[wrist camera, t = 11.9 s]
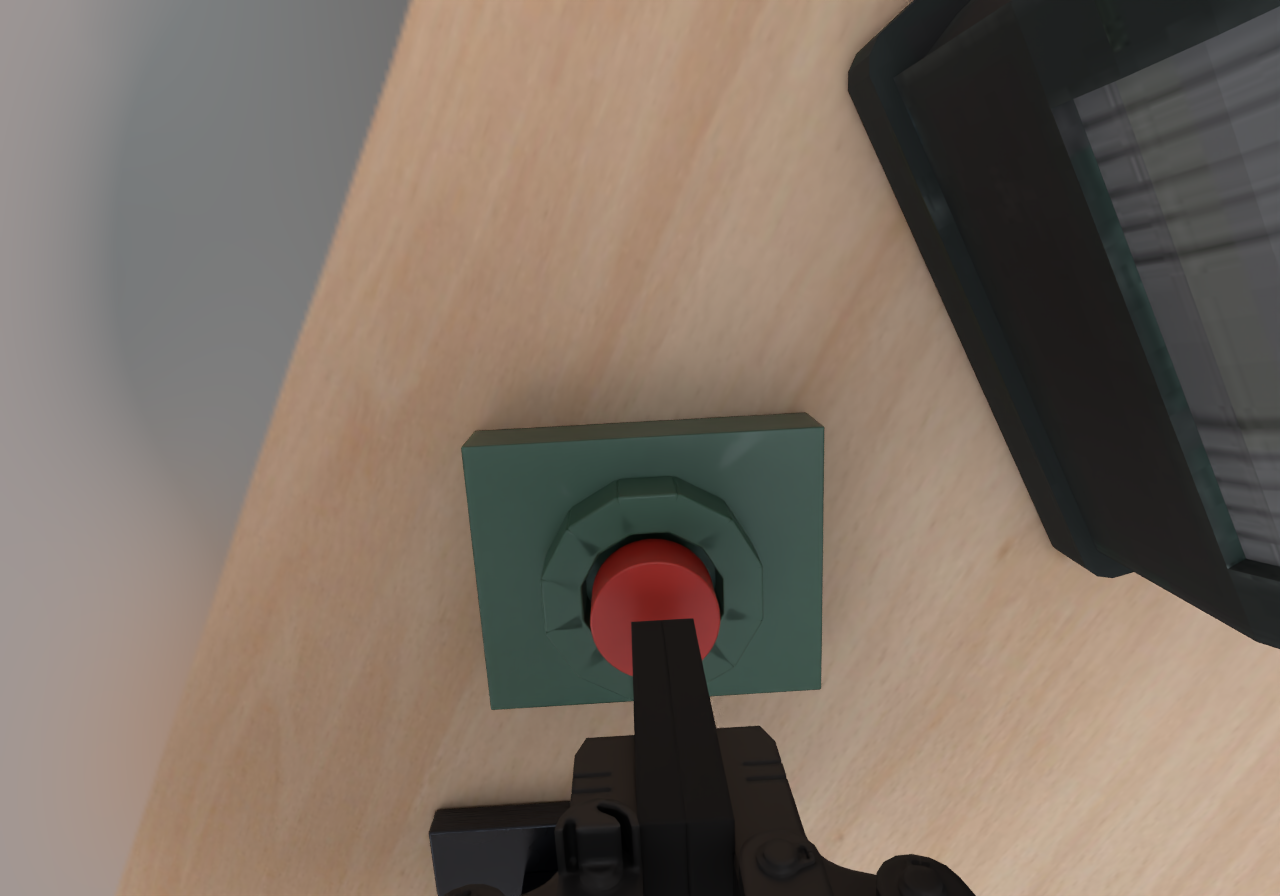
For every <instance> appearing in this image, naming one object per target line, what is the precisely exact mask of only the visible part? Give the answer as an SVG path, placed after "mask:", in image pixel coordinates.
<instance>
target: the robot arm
mask: <svg viewBox="0 0 1280 896" xmlns="http://www.w3.org/2000/svg"><path fill="white" fill-rule="evenodd" d="M631 634H632V666H633V699H634V731H635V735H629V736H613V737H596V738H586V740H585V741H584V743H583V744H582V746H581V747H580V749H579V750H578V751H577V753H576V754H575V759H574V770H573V781H572V794H571V803H570V808H569V809H568V810H567V811H566V812H565V813H564V814H563V815H562V816H561V817H560V818H559V819H558V822H557V825H556V828H555V830H554V833H555V843H556V854H557V865H558V871H557V872H556V874H555V875H554V876H553V877H552V878H551V879H550V880H549V881H547V882H546V883H545V884H543V885H542V886H540V887H539V888H537V889H534V890H532V891H530V892H528V893H525V894H522V895H520V896H975V894H974V893H973V892H972V891H971V890H970V889H969V887H968V886H967V885H966V884H965V883H964V882H963V880H962V879H961V878H960V877H959V876H958V875H956V874H955V873H954V872H953V871H952V870H951V869H949V868H948V867H947V866H946V865H944V864H942V863H940V862H938V861H935V860H933V859H931V858H929V857H924V856H919V855H914V854H909V855H898V856H895V857H893V858H891V859H889V860H887V861H885V862H883V864H882V865H881V867H880V868H879V870H878V871H877V875H874V874H869V873H864V872H859V871H854V870H851V869H847V868H844V867H841V866H838V865H836V864H834V863H832V862H830V861H828V860H827V859H825V858H824V857H823V856H821V855H820V853H819V852H818V850H817V848H816V847H815V845H814V844H812V843H811V842H810V841H809V840H808V839H807V837H806V835H805V832H804V829H803V826H802V823H801V820H800V817H799V814H798V811H797V807H796V804H795V801H794V798H793V795H792V792H791V789H790V786H789V783H788V780H787V779H786V773H785V770H784V767H783V764H782V763H781V758H780V755H779V752H778V749H777V746H776V742H775V741H774V740H773V739H772V738H771V737H770V736H769V735H768V734H767V733H766V732H765V731H764V730H763V729H762V728H761V727H760V726H748V727H732V728H716V726H715V721H714V717H713V712H712V707H711V702H710V697H709V692H708V687H707V682H706V678H705V673H704V668H703V663H702V658H701V653H700V648H699V644H698V639H697V634H696V629H695V624H694V619H693V618H688V619H671V620H654V621H636V622H631ZM444 896H505V895H504V894H503V893H502V892H501V891H500V890H499V889H498V888H495V887H492V886H489V885H486V884H468V885H465V886H462V887H459V888H456V889H453V890H451V891H449V892H448V893H447V894H445V895H444Z"/></svg>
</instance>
